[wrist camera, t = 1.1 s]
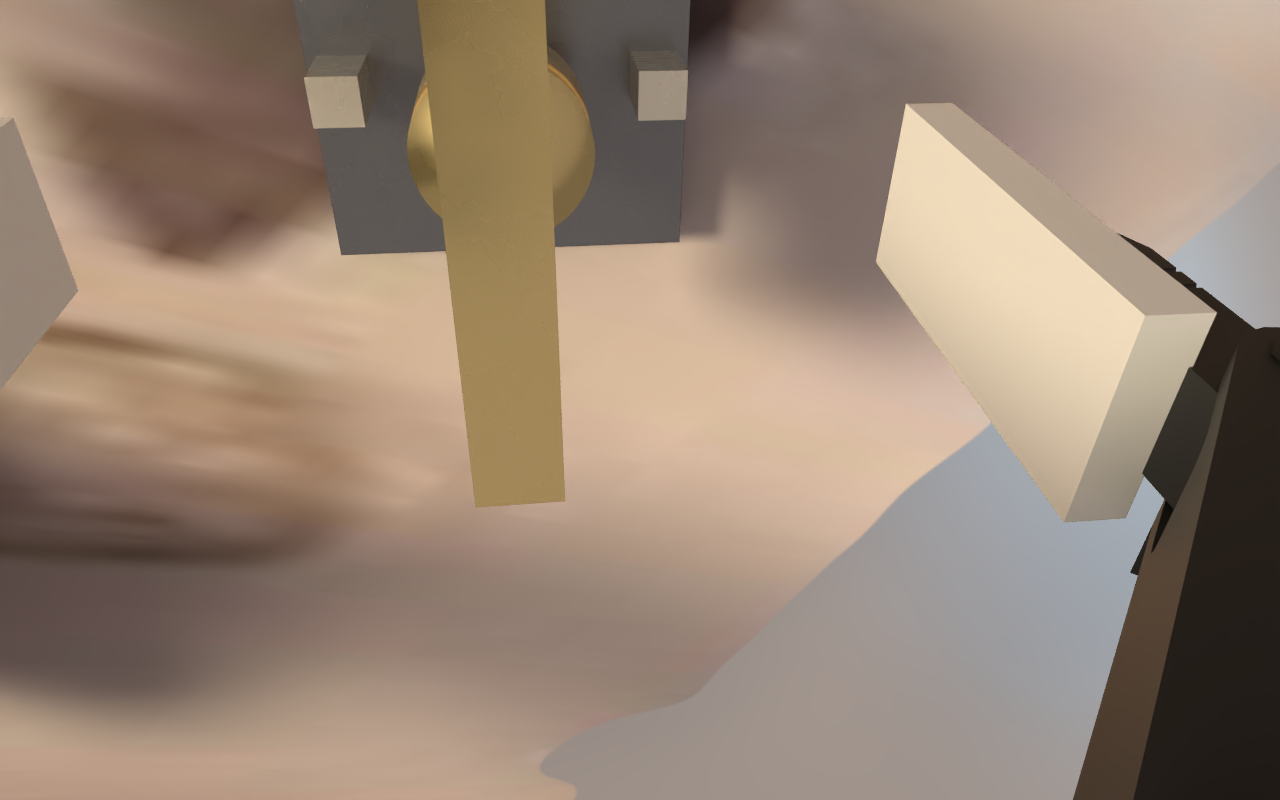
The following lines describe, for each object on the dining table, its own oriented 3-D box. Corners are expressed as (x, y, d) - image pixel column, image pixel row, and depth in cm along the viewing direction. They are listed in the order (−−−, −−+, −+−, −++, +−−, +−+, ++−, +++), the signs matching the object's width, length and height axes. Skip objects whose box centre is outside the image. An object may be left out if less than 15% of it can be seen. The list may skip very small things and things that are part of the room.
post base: (347, 236, 44) (324, 307, 39) (277, -147, 35) (234, -126, 30) (673, 224, 46) (697, 291, 41) (688, -143, 37) (721, -123, 31)
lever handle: (439, 306, 39) (417, 511, 29) (385, -125, 30) (323, -56, 19) (589, 299, 40) (621, 497, 29) (582, -123, 30) (625, -56, 20)
